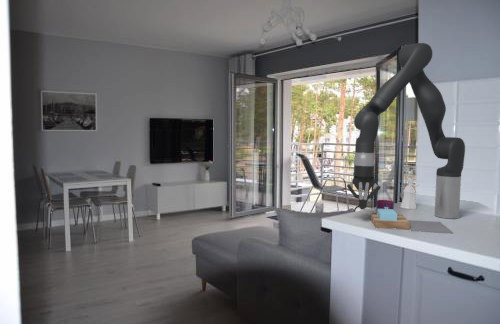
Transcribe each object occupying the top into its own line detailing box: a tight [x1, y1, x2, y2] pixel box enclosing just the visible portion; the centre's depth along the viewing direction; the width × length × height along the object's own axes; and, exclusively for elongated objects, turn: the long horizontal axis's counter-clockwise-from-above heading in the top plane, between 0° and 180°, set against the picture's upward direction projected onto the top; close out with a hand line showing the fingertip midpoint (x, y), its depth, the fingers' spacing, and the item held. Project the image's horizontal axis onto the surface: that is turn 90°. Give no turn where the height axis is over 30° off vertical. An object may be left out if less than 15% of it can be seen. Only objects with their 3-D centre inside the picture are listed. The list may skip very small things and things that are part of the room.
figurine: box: [399, 169, 420, 210], centre depth 182 cm, size 7×8×18 cm
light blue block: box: [377, 209, 398, 221], centre depth 149 cm, size 9×6×2 cm, turn 169°
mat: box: [407, 219, 454, 234], centre depth 146 cm, size 16×14×1 cm
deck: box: [370, 212, 410, 230], centre depth 149 cm, size 14×12×2 cm
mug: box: [375, 199, 395, 214], centre depth 163 cm, size 7×10×7 cm
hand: (362, 209), depth 151 cm, fingers closed
